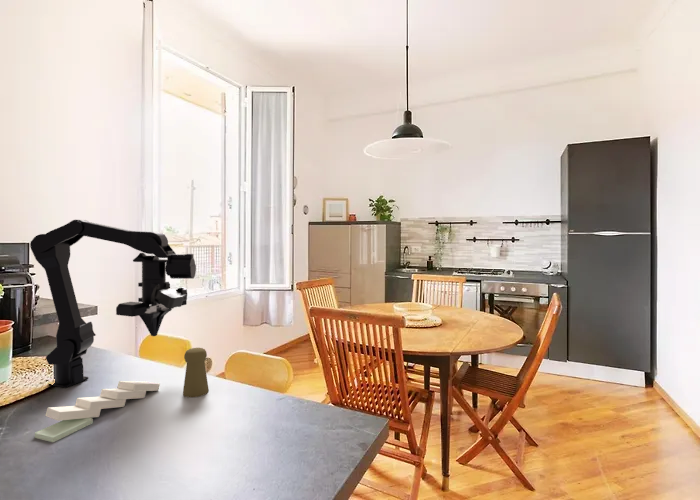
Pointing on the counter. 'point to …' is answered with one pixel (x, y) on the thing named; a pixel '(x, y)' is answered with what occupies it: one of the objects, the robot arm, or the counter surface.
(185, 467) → the counter surface
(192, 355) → the cork
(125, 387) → the domino
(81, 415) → the domino
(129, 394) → the domino
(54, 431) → the sage domino
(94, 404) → the domino
